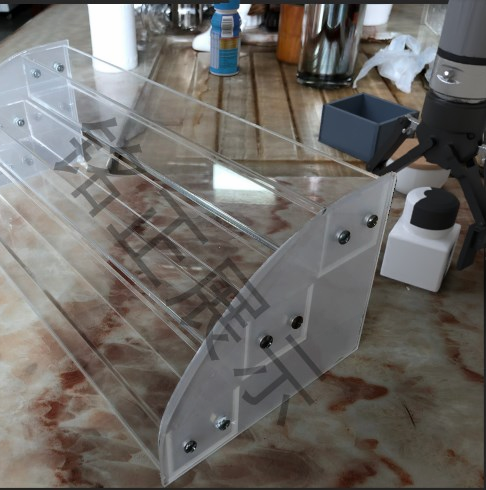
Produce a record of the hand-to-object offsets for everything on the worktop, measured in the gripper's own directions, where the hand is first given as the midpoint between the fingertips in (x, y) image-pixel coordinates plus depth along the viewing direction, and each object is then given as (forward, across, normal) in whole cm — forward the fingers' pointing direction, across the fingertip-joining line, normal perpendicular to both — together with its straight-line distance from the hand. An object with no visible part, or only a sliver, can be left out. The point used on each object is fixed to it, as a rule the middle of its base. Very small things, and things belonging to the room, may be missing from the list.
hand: (419, 242), depth 82 cm
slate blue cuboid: (+1, -34, +36) cm, 49 cm away
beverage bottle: (+6, -89, +37) cm, 96 cm away
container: (+6, 0, 0) cm, 6 cm away
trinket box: (+6, -16, +21) cm, 27 cm away
